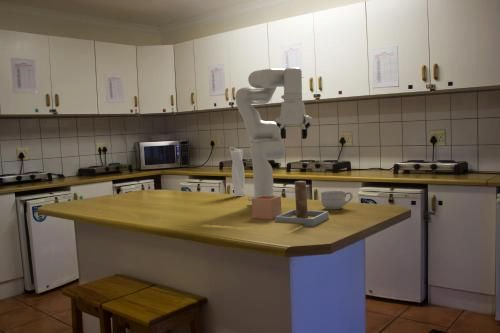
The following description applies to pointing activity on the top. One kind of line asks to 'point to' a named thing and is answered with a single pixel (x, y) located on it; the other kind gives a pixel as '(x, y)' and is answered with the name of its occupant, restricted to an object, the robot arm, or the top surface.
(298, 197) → the dowel pin
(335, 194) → the teacup
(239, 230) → the top surface
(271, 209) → the pink cube box
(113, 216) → the top surface
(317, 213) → the tray
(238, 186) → the skyscraper
